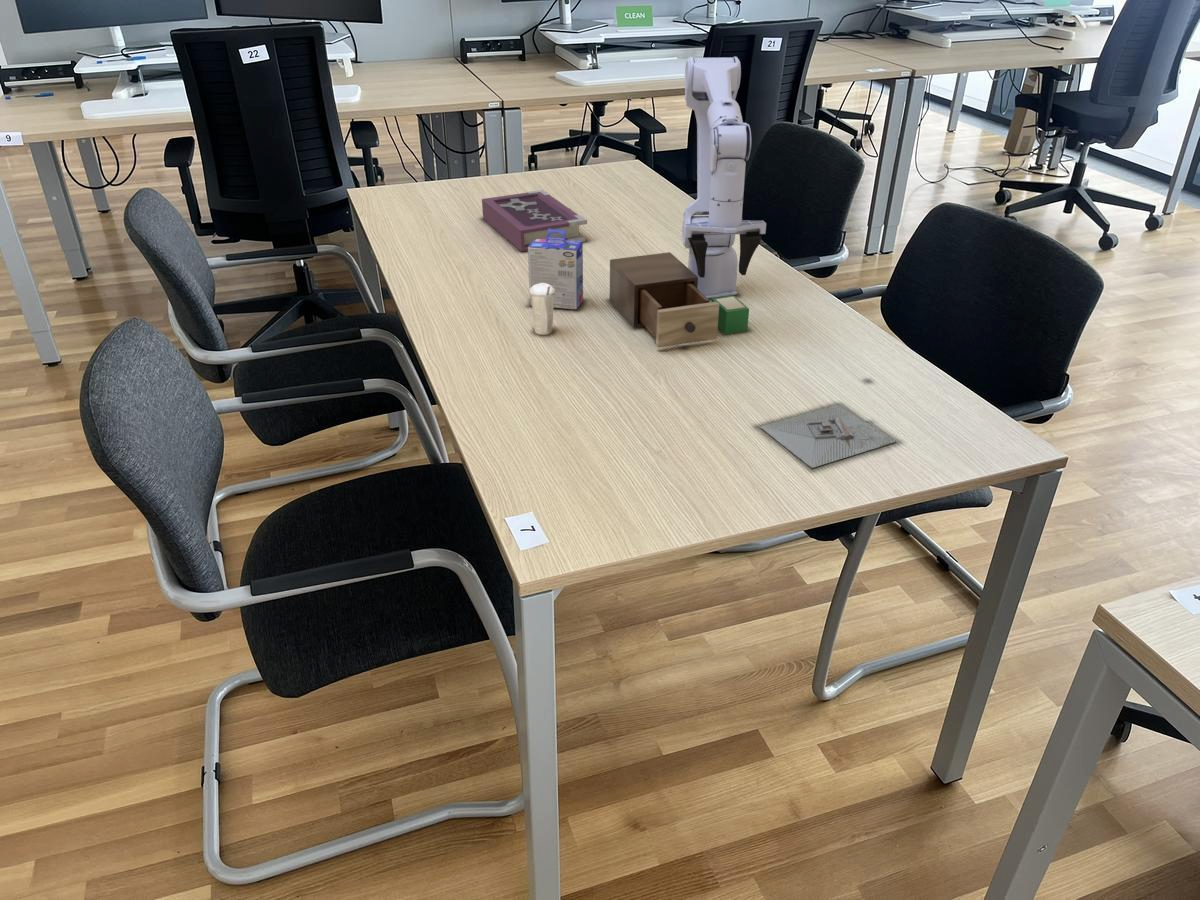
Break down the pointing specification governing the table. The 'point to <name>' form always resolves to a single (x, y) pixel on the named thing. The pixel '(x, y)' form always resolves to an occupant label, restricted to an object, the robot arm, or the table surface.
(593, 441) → the table surface
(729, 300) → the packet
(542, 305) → the milkshake
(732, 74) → the robot arm
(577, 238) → the book
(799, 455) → the grey flat square slab
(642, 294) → the drawer
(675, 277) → the cabinet
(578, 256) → the ink cartridge box
